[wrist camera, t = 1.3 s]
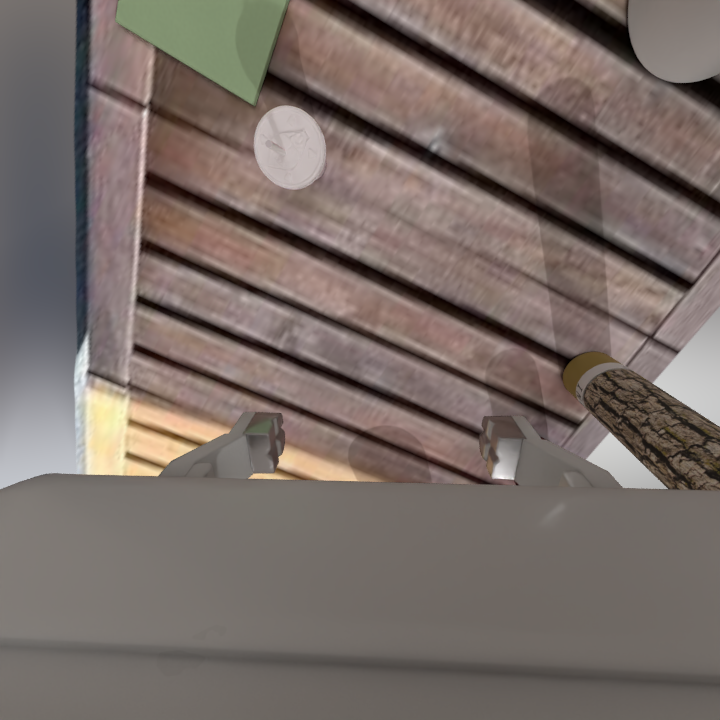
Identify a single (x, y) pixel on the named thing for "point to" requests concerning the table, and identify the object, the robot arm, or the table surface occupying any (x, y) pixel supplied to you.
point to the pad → (212, 36)
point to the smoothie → (290, 147)
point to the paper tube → (648, 422)
